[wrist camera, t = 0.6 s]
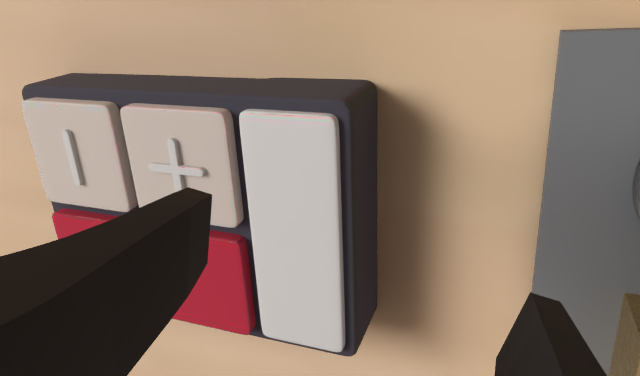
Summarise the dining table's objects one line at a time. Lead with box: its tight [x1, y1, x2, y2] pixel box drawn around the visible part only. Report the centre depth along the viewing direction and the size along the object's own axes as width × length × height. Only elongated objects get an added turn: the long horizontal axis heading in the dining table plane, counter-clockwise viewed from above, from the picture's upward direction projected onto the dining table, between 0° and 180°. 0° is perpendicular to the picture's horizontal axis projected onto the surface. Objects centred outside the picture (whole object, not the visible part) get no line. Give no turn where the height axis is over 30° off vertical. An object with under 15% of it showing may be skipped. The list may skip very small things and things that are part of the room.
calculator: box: [21, 73, 377, 356], centre depth 23 cm, size 11×4×15 cm
